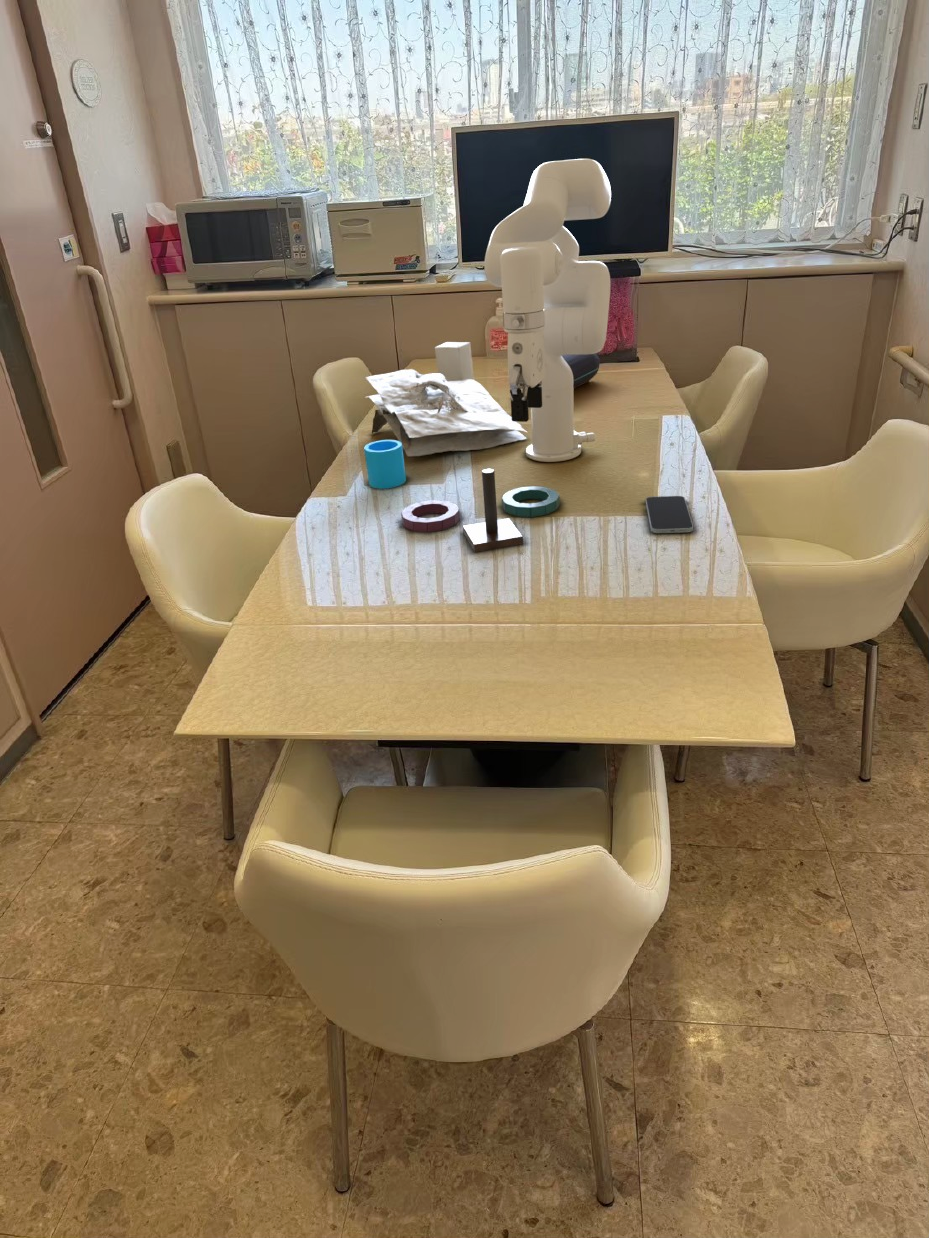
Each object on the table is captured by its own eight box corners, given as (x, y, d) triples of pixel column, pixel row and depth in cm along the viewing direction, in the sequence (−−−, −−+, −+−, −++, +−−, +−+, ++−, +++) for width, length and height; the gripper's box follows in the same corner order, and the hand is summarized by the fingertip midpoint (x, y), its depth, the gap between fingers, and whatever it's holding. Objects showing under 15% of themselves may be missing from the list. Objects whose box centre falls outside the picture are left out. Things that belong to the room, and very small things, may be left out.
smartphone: (651, 529, 147) (644, 497, 160) (651, 534, 148) (644, 501, 160) (694, 528, 146) (684, 495, 159) (693, 533, 146) (684, 500, 159)
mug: (400, 488, 178) (395, 452, 173) (364, 488, 179) (358, 452, 175) (415, 469, 188) (411, 434, 184) (381, 469, 189) (376, 434, 185)
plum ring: (453, 506, 166) (452, 496, 165) (464, 526, 157) (463, 517, 156) (399, 514, 165) (398, 504, 164) (406, 535, 156) (405, 525, 155)
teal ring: (549, 492, 169) (549, 483, 168) (565, 512, 159) (565, 502, 158) (497, 500, 167) (496, 490, 166) (510, 520, 158) (510, 510, 157)
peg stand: (509, 525, 156) (505, 459, 149) (523, 544, 148) (519, 475, 142) (463, 533, 154) (457, 466, 148) (474, 552, 147) (469, 483, 140)
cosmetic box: (476, 398, 236) (472, 342, 228) (463, 404, 231) (459, 347, 224) (451, 396, 240) (447, 340, 232) (439, 402, 236) (433, 346, 228)
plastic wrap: (534, 410, 195) (408, 421, 183) (525, 472, 204) (405, 485, 193) (476, 357, 220) (362, 364, 208) (470, 414, 229) (361, 423, 218)
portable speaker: (573, 377, 248) (572, 343, 243) (603, 380, 242) (603, 345, 237) (528, 399, 231) (527, 363, 226) (560, 403, 225) (559, 365, 220)
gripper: (530, 329, 143) (534, 427, 151) (555, 312, 157) (557, 402, 165) (489, 330, 145) (495, 426, 153) (517, 313, 159) (521, 402, 168)
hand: (527, 414), depth 159 cm, fingers open, 9 cm apart
